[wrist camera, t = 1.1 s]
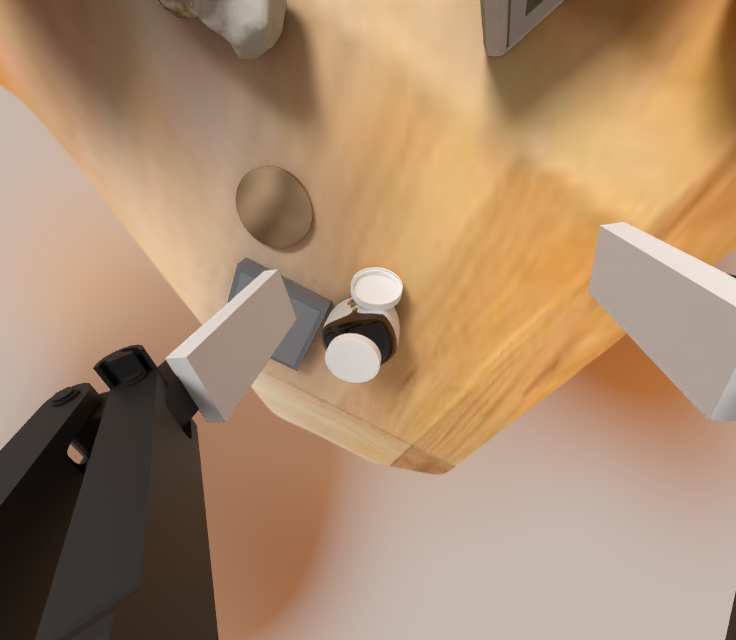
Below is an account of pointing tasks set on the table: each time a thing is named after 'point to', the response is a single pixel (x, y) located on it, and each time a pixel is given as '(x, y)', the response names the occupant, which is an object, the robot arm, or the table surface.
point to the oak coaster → (274, 207)
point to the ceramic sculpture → (237, 21)
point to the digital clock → (511, 21)
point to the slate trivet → (305, 307)
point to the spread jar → (364, 326)
